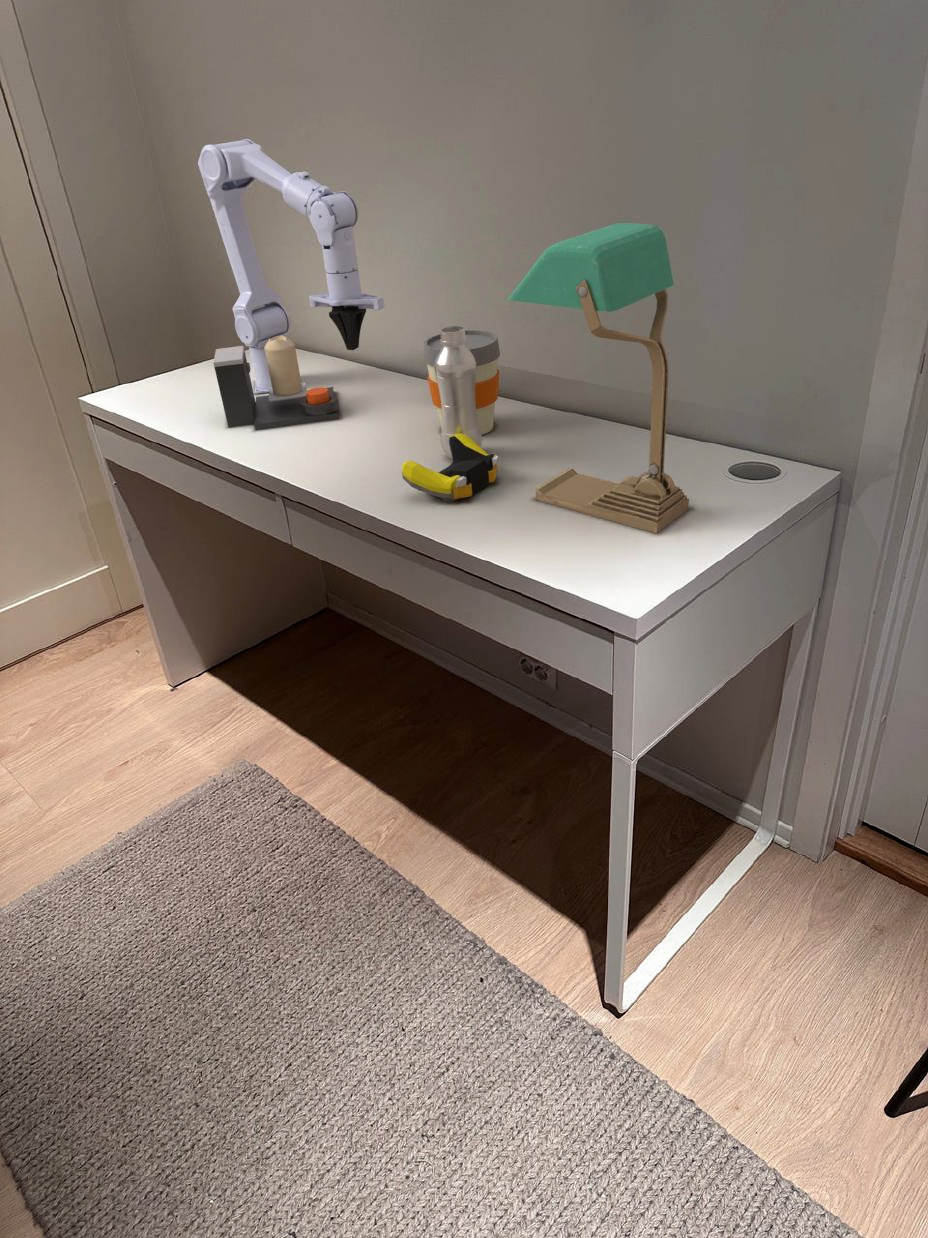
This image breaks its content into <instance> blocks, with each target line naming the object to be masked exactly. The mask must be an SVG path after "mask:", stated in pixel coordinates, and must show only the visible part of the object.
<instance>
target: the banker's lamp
mask: <svg viewBox="0 0 928 1238" xmlns="http://www.w3.org/2000/svg"><path fill="white" fill-rule="evenodd" d="M673 286H674V279H673V273H672V267H671V261H670V256H669V249H668V244H667V238H666V236H665V234H664V231H663V230H662V229H661V228H660V227H659V226H658V225H654V224H652V223H651V224H650V223H633V222H632V223H631V222H620V223H613V224H610V225H608V226H603V227H601V228H597V229H595V230H592V231H588V232H585V233H583V234H579V235H576V236H573V237H570V238H567V239H564V240H561V241H558V242H556V243H553V244H552V245H550V246H548V247H547V248H546V249H545V250H544V251H542V253H541V255H540V256H539V258H538V259H537V260H536V261H535V263H534V264H533V265H532V267H531V268H530V269H529V271H528V272H527V273H526V275H524V277H523V278H522V280H520V283H519V284H518V285H517V286H516V287H515V289H514V290H513V291H512V293H511V294H510V295H509V297H508V298H507V300H508V301H511V302H518V303H519V302H520V303H527V304H535V305H543V306H551V307H552V306H553V307H561V308H570V309H578V310H583V313H584V317H585V320H586V323H587V327H588V330H589V332H590V334H592V335H593V336H595V337H597V338H600V339H607V340H615V341H623V342H630V343H638V344H641V345H643V346H644V347H645V348H646V349H647V352H648V355H649V358H650V362H651V368H652V383H651V386H652V387H651V388H652V389H651V408H650V410H651V411H650V432H649V455H648V456H649V457H648V471H646V472H645V471H644V472H643V473H641V474H639V476H636V475H631V476H627V477H625V478H624V479H622V480H621V481H620V482H618V483H617V482H614V481H609V480H605V479H601V478H597V477H594V476H589V475H587V474H586V475H585V474H581V473H578V472H577V471H576V470H575V469H574V468H573V467H568V468H567V469H565V470H564V471H562V472H561V473H559V474H557V475H556V476H554V477H552V478H550V479H548V480H547V481H546V482H544V483H542V484H541V485H538V486H537V487H536V488H535V500H536V501H539V502H542V503H546V504H549V505H553V506H557V507H560V508H564V509H567V510H571V511H575V512H578V513H582V514H586V515H589V516H592V517H596V518H600V519H604V520H607V521H610V522H613V523H618V524H622V525H625V526H629V527H633V528H634V529H635V528H636V529H638V530H639V529H640V530H642V531H646V532H650V533H654V534H658V533H659V532H660V531H661V530H663V529H664V528H665V527H667V526H668V525H669V524H671V523H672V522H674V520H676V519H678V518H679V517H680V516H681V515H683V514H684V513H685V512H686V511H687V510H689V506H690V505H689V504H690V503H689V502H690V498H688V495H686V494H685V492H684V491H683V488H681V487H680V486H676V485H675V482H674V480H673V478H672V477H671V476H670V475H669V474H668V473H667V472H665V452H666V435H667V414H668V397H669V395H668V393H669V376H670V374H669V370H670V369H669V359H668V355H667V351H666V347H665V345H664V343H663V332H664V326H665V321H666V318H667V317H666V316H667V312H668V307H669V294H668V291H667V289H669V288H671V287H673ZM653 295H654V296H655V299H656V311H655V313H654V317H653V321H652V325H651V329H650V332H649V335H648V336H649V337H644V336H639V335H635V334H630V333H626V332H622V331H618V330H613V329H608V328H607V327H604V326H603V325H602V323H601V320H600V317H599V314H598V312H605V313H609V312H611V313H612V312H616V311H619V310H621V309H624V308H625V307H628V306H631V305H633V304H635V303H637V302H640V301H642V300H643V299H644V300H645V299H646V298H648V297H651V296H653ZM644 476H647V477H646V478H643V477H644Z"/></svg>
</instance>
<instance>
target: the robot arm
mask: <svg viewBox="0 0 928 1238" xmlns="http://www.w3.org/2000/svg"><path fill="white" fill-rule="evenodd" d="M197 165H198V169H199V172H200V175H201V178H202V181H203V184H204V187H205V191H206V193H207V196H208V198H209V200H210V204H211V207H212V210H213V213H214V216H215V219H216V222H217V225H218V229H219V232H220V235H221V239H222V241H223V245H224V248H225V251H226V254H227V257H228V260H229V264H230V267H231V270H232V273H233V276H234V279H235V282H236V285H237V289H238V292H239V297H238V298H237V300H236V302H235V303H234V305H233V306H232V308H231V309H232V312H233V316H234V328H235V332H236V335H237V336H238V339H240V341H241V343H243V344H244V347H248V350H249V354H250V359H251V364H252V370H253V374H254V380H255V381H254V395H255V394H256V395H259V394H267V393H269V387H272V384H271V379H270V374H269V369H268V364H267V359H266V354H265V349H264V347H265V345H266V344H267V342H268V340H269V338H271V339H272V338H274V337H275V336H281V335H283V336H285V337H286V338H288V335H287V334H288V333H289V332H290V329H291V318H290V314H289V312H288V311H287V309H286V308H285V305H284V303H283V301H282V298H281V296H280V295H279V294H278V293H276V292H275V291H273V290H271V289H269V288H268V285H267V282H266V278H265V275H264V272H263V269H262V265H261V262H260V259H259V256H258V252H257V249H256V246H255V242H254V239H253V236H252V232H251V230H250V226H249V222H248V219H247V216H246V213H245V210H244V207H243V203H242V200H243V198H244V195H245V192H247V191H248V190H249V188H250V187H252V185H253V184H254V182H255V181H259V182H261V183H263V184H264V185H266V186H268V187H270V188H272V189H273V190H276V191H277V192H279V193H281V194H282V199H283V201H284V203H285V204H286V205H287V206H289V207H290V208H292V209H294V210H295V211H297V212H298V213H300V214H301V215H303V216H304V217H306V218H307V219H309V221H310V224H311V226H312V229H314V231H315V233H316V237H317V242H319V245H320V246H321V251H322V257H323V264H324V265H323V266H324V271H325V277H326V284H327V291H328V293H314V294H312V295H309V296H308V299H309V307H310V308H317V307H318V308H319V307H321V308H331V311H329V312H328V317H329V319H330V320H331V321H332V322H333V323H334V325H335V327H336V328H337V329H338V331H339V334H340V336H341V339H342V340H343V343H344V346H345V348H346V350H347V351H355V350H356V349H358V348H360V335H361V329H362V326H363V322H364V318H365V315H366V313H367V310H374V311H380V310H383V309H385V308H386V307H385V299H384V296H383V295H382V296H381V295H372V294H367V293H362V288H361V280H360V273H359V265H358V258H357V257H358V256H357V249H356V243H355V235H354V228H353V227H355V226H356V225H357V223H358V219H359V210H358V206H357V203H356V201H355V199H354V197H352V196H351V195H350V194H349V193H348V192H347V191H344V190H341V191H337V192H335V191H332V190H331V188H330V187H329V186H327V185H322V184H321V183H319V182H318V181H316V180H314V179H312V178H311V174H310V173H309V172H307V171H305V170H304V171H295V172H293V173H291V172H290V171H288V170H287V169H285V168H284V167H283V166H281V165H280V164H279V163H277V162H276V161H275V160H274V159H272V158H271V157H269V156H268V155H267V154H266V153H265V152H264V151H263V148H262V146H261V145H260V144H257V143H255V142H254V141H253V140H251V139H249V138H244V139H241V140H236V141H230V142H224V143H218V144H205V145H204V146H203V147H202V149H201V151H200V155H199V158H198V161H197ZM261 306H262V307H261Z"/></svg>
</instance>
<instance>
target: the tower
mask: <svg viewBox="0 0 928 1238" xmlns="http://www.w3.org/2000/svg"><path fill="white" fill-rule="evenodd" d="M213 357H214V358H213V362H212V363H213V367H214V368H213V369H214V372H215V377H216V380H217V385H218V389H219V394H220V397H221V403H222V406H223V411H224V415H225V420H226V424H227V428H236V427H242V426H250V425H252V426H253V425H254V420H255V404H256V397H255V392H254V389H253V384H252V379H251V375H250V373H251V369H252V368H251V364H250V363H251V362H248V361H247V355H246V350H245V345H237V346H230V347H223V348H222V347H221V348H216V349H215V353H214V356H213ZM301 383H302V391H300V392H298V393H296V394H292V395H286V396H280V395H275V394H274V393H273V389H272V387H269V392H268V395H269V402H272V401H280V400H288V399H295V398H303V397H307V395H306V392H307V390H308V389H307V382H301Z"/></svg>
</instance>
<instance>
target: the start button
mask: <svg viewBox="0 0 928 1238" xmlns="http://www.w3.org/2000/svg"><path fill="white" fill-rule="evenodd" d="M327 388H328V387H323V386H322V387H321V386H318V387H312V388H309V389H307V390H308V391H307V392H306V395H307V400H308V403H309V404H321V403H325V402H328V401H329V400H330V398H329V392H328V389H327Z"/></svg>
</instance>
